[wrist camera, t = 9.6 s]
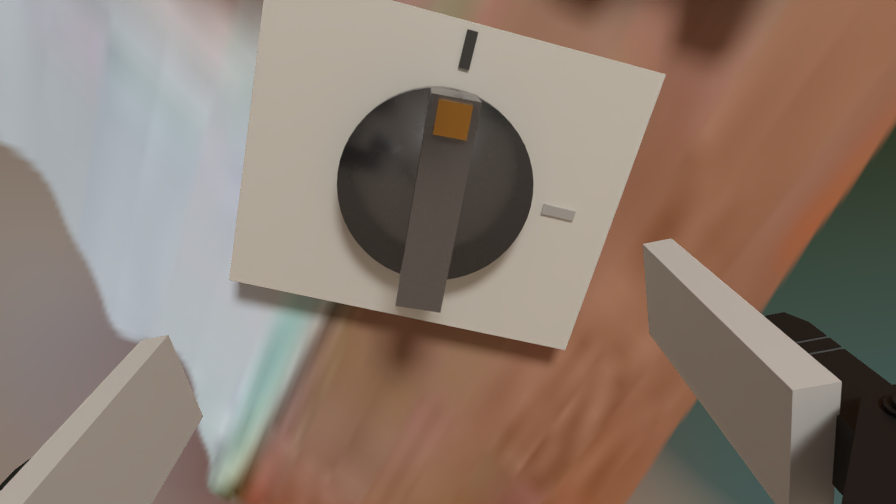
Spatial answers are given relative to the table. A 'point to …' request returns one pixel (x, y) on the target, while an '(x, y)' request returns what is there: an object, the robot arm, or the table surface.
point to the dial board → (413, 66)
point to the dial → (434, 188)
